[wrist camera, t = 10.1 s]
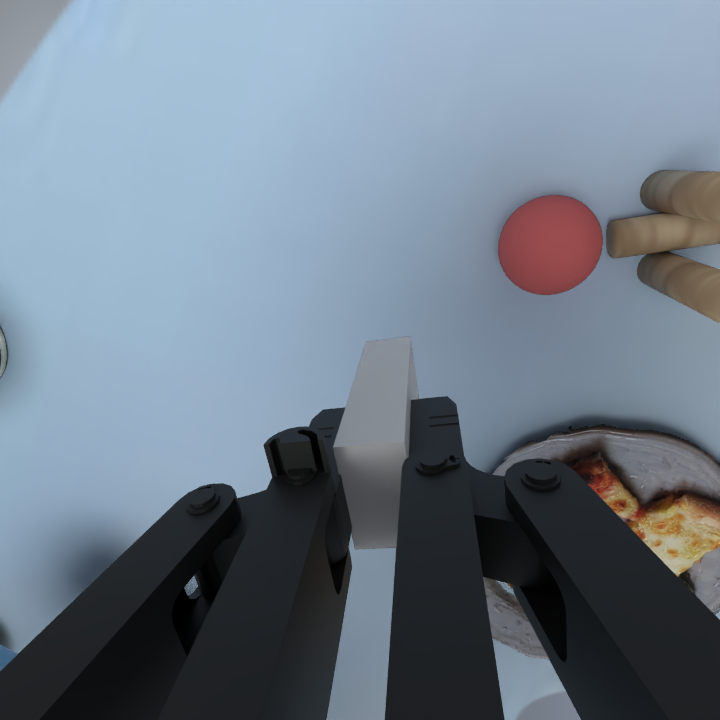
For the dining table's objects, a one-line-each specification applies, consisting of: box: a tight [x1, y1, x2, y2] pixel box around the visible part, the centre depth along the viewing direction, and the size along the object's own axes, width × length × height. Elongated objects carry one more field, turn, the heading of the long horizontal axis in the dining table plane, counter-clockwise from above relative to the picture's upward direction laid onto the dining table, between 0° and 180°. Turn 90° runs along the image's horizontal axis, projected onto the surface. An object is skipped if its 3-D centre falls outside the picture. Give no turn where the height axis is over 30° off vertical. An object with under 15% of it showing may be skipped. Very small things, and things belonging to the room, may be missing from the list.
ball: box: [498, 195, 603, 295], centre depth 30 cm, size 6×6×6 cm
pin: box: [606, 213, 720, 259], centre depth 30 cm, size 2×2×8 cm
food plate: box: [483, 424, 720, 660], centre depth 40 cm, size 25×23×4 cm
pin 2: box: [637, 251, 720, 323], centre depth 28 cm, size 2×2×8 cm
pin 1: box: [640, 170, 720, 223], centre depth 26 cm, size 2×2×8 cm
